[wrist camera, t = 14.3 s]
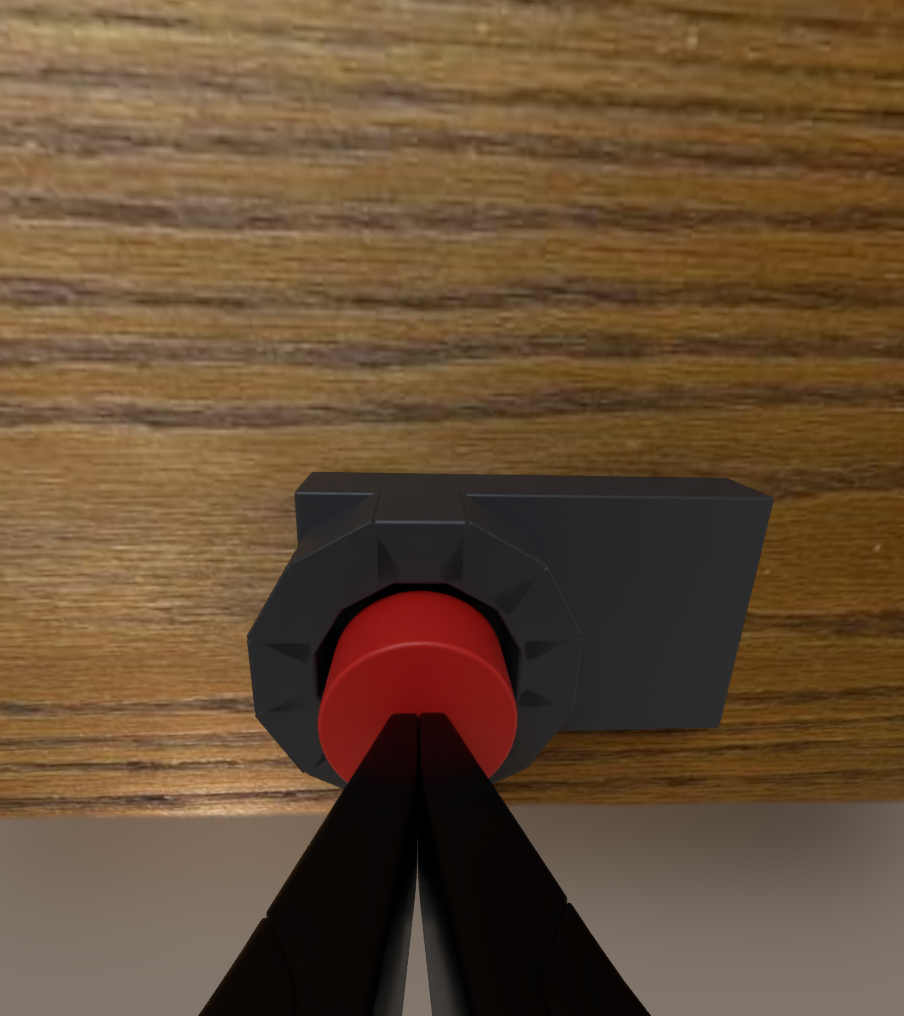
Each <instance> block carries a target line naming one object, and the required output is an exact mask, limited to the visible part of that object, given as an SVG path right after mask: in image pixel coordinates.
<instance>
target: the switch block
mask: <svg viewBox="0 0 904 1016" xmlns="http://www.w3.org/2000/svg"><path fill="white" fill-rule="evenodd" d="M772 504H773V498H772V497H770V496H768V495H765V494H763V493H761V492H758V491H756V490H753V489H751V488H749V487H746V486H744V485H742V484H739V483H737V482H735V481H732V480H730V479H727V478H672V477H607V476H542V475H478V474H413V473H348V472H312V473H311V474H310V475H309V476H308V477H307V479H306V480H305V481H304V482H303V483H302V485H301V486H300V487H299V488H298V489H297V490H296V492H295V508H296V523H297V538H298V548H297V550H296V551H295V553H294V555H293V556H292V558H291V560H290V561H289V563H288V565H287V566H286V568H285V570H284V571H283V573H282V575H281V577H280V578H279V580H278V582H277V584H276V586H275V587H274V589H273V591H272V593H271V594H270V596H269V598H268V600H267V601H266V603H265V605H264V607H263V608H262V610H261V612H260V614H259V615H258V617H257V619H256V621H255V622H254V624H253V626H252V628H251V630H250V631H249V633H248V635H247V638H248V640H247V644H248V653H249V663H250V672H251V681H252V690H253V700H254V709H255V712H256V714H255V716H256V718H257V719H258V720H259V721H260V723H261V724H262V725H263V726H264V727H265V729H266V730H267V731H268V732H269V733H270V734H271V736H272V737H273V738H274V739H275V740H276V742H277V743H278V744H279V745H280V746H281V748H282V749H283V750H284V751H285V752H286V754H287V755H288V756H289V757H290V758H291V760H292V761H293V762H294V763H295V764H296V765H297V767H298V768H299V769H300V770H301V771H302V772H303V773H305V772H306V773H307V774H308V775H310V776H313V777H315V778H318V779H320V780H323V781H325V782H328V783H330V784H333V785H335V786H337V787H340V788H342V789H344V788H345V787H346V785H347V784H348V783H347V782H345V781H344V780H343V779H342V778H341V777H340V776H339V775H338V774H337V773H336V772H335V771H334V769H333V768H332V767H331V765H330V764H329V762H328V760H327V758H326V756H325V754H324V752H323V750H322V746H321V743H320V740H319V734H318V714H319V708H320V704H321V700H322V697H323V693H324V689H325V686H326V682H327V678H328V675H329V671H330V667H331V664H332V660H333V656H334V653H335V649H336V646H337V643H338V640H339V638H340V636H341V634H342V632H343V631H344V629H345V628H346V626H347V625H348V624H349V622H350V621H351V620H352V619H353V618H354V617H355V616H356V615H357V614H358V613H359V612H361V611H362V610H363V609H364V608H366V607H367V606H369V605H370V604H372V603H374V602H375V601H378V600H380V599H382V598H384V597H387V596H390V595H393V594H396V593H401V592H407V591H419V590H420V591H433V592H439V593H444V594H447V595H450V596H453V597H455V598H458V599H460V600H462V601H464V602H466V603H467V604H469V605H470V606H472V607H474V608H475V609H476V610H477V611H478V612H480V613H481V614H482V615H483V616H484V617H485V618H486V620H487V621H488V622H489V623H490V625H491V626H492V628H493V629H494V631H495V633H496V635H497V637H498V640H499V643H500V646H501V650H502V653H503V657H504V661H505V664H506V668H507V672H508V675H509V679H510V682H511V686H512V690H513V693H514V697H515V701H516V705H517V712H518V725H517V731H516V736H515V739H514V742H513V745H512V748H511V750H510V752H509V754H508V756H507V758H506V759H505V761H504V762H503V763H502V765H501V766H500V767H499V769H498V770H497V771H496V772H495V773H494V774H493V775H492V776H491V777H490V778H489V780H490V781H491V783H492V784H494V783H496V782H498V781H500V780H502V779H505V778H507V777H509V776H511V775H513V774H515V773H517V772H520V771H522V770H524V769H526V768H527V766H530V764H531V763H532V762H533V761H534V759H535V758H536V757H537V756H538V754H539V753H540V752H541V751H542V749H543V748H544V747H545V746H546V744H547V743H548V742H549V741H550V739H551V738H552V737H553V736H554V735H555V733H556V732H557V731H593V730H638V729H683V728H717V727H719V725H720V721H721V717H722V713H723V708H724V704H725V700H726V696H727V692H728V688H729V683H730V679H731V675H732V671H733V667H734V663H735V658H736V654H737V650H738V646H739V642H740V638H741V634H742V629H743V625H744V621H745V617H746V613H747V609H748V604H749V600H750V596H751V592H752V588H753V584H754V579H755V575H756V571H757V567H758V563H759V559H760V554H761V550H762V546H763V542H764V538H765V534H766V529H767V525H768V521H769V517H770V513H771V509H772Z"/></svg>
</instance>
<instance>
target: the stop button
mask: <svg viewBox="0 0 904 1016" xmlns="http://www.w3.org/2000/svg"><path fill="white" fill-rule="evenodd" d="M429 712H443V713H445V714H446V715H447V716H448V718H449V719H450V721H451V722H452V724H453V725H454V727H455V728H456V730H457V731H458V733H459V734H460V736H461V737H462V739H463V741H464V742H465V744H466V745H467V747H468V748H469V750H470V751H471V753H472V754H473V756H474V757H475V759H476V760H477V762H478V763H479V765H480V766H481V768H482V769H483V771H484V772H485V774H486V775H487V777H488V778H490V777H491V776H492V775H493V774H494V773H495V772H496V771H497V770H498V769H499V767H500V766H501V765H502V763H503V762H504V761H505V759H506V758H507V756H508V754H509V752H510V750H511V748H512V745H513V742H514V739H515V736H516V731H517V725H518V712H517V705H516V701H515V697H514V693H513V690H512V686H511V682H510V679H509V675H508V672H507V668H506V664H505V661H504V657H503V653H502V650H501V646H500V643H499V640H498V637H497V635H496V633H495V631H494V629H493V628H492V626H491V625H490V623H489V622H488V621H487V620H486V618H485V617H484V616H483V615H482V614H481V613H480V612H478V611H477V610H476V609H475V608H474V607H472V606H470V605H469V604H467V603H466V602H464V601H462V600H460V599H458V598H455V597H453V596H450V595H447V594H444V593H439V592H433V591H420V590H419V591H407V592H401V593H396V594H393V595H390V596H387V597H384V598H382V599H380V600H378V601H375V602H374V603H372V604H370V605H369V606H367V607H366V608H364V609H363V610H362V611H361V612H359V613H358V614H357V615H356V616H355V617H354V618H353V619H352V620H351V621H350V622H349V624H348V625H347V626H346V628H345V629H344V631H343V632H342V634H341V636H340V638H339V640H338V643H337V646H336V649H335V653H334V656H333V660H332V664H331V667H330V671H329V675H328V678H327V682H326V686H325V689H324V693H323V697H322V700H321V704H320V708H319V714H318V734H319V740H320V743H321V746H322V750H323V752H324V754H325V756H326V758H327V760H328V762H329V764H330V765H331V767H332V768H333V769H334V771H335V772H336V773H337V774H338V775H339V776H340V777H341V778H342V779H343V780H344V781H345V782H347V783H348V782H349V780H350V779H351V777H352V776H353V774H354V772H355V771H356V769H357V768H358V766H359V765H360V763H361V761H362V760H363V758H364V757H365V755H366V753H367V752H368V750H369V749H370V747H371V746H372V744H373V742H374V741H375V739H376V738H377V736H378V734H379V733H380V731H381V730H382V728H383V726H384V725H385V723H386V722H387V720H388V719H389V717H390V716H391V715H392V714H394V713H416V714H417V716H418V720H419V715H420V714H421V713H429Z"/></svg>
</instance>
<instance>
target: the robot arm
mask: <svg viewBox="0 0 904 1016" xmlns="http://www.w3.org/2000/svg"><path fill="white" fill-rule="evenodd" d="M417 840H418V882H419V894H420V904H421V914H422V923H423V933H424V942H425V952H426V961H427V971H428V980H429V989H430V999H431V1008H432V1016H651V1015H650V1014H649V1012H647V1010H646V1009H645V1007H644V1006H643V1005H642V1003H641V1002H640V1001H639V1000H638V998H637V997H636V996H635V994H634V993H633V992H632V990H631V989H630V988H629V987H628V985H627V984H626V983H625V982H624V980H623V978H622V977H621V976H620V974H619V973H618V971H617V970H616V969H615V967H614V966H613V964H612V963H611V961H610V960H609V959H608V957H607V956H606V954H605V953H604V951H603V950H602V948H601V947H600V946H599V944H598V943H597V941H596V940H595V938H594V937H593V936H592V934H591V933H590V931H589V930H588V928H587V926H586V925H585V923H584V922H583V920H582V919H581V917H580V916H579V914H578V913H577V912H576V910H575V908H574V907H573V905H572V904H571V903H567V897H566V895H565V894H564V892H563V891H562V889H561V887H560V886H559V885H558V883H557V881H556V880H555V878H554V877H553V875H552V874H551V872H550V871H549V869H548V868H547V866H546V865H545V863H544V862H543V860H542V859H541V857H540V856H539V854H538V853H537V851H536V850H535V848H534V847H533V845H532V844H531V842H530V841H529V839H528V838H527V836H526V835H525V833H524V831H523V830H522V828H521V827H520V826H519V824H518V822H517V821H516V819H515V818H514V816H513V815H512V813H511V812H510V810H509V809H508V807H507V806H506V804H505V803H504V801H503V800H502V798H501V797H500V795H499V794H498V792H497V791H496V789H495V787H494V786H493V784H492V783H491V781H490V780H489V778H488V777H487V775H486V774H485V772H484V771H483V769H482V768H481V766H480V765H479V763H478V762H477V760H476V759H475V757H474V756H473V754H472V753H471V751H470V750H469V748H468V747H467V745H466V744H465V742H464V741H463V739H462V737H461V736H460V734H459V733H458V731H457V730H456V728H455V727H454V725H453V724H452V722H451V721H450V719H449V718H448V716H447V715H446V714H445V713H443V712H429V713H421V714H420V715H419V720H418V716H417V714H416V713H394V714H392V715H391V716H390V717H389V719H388V720H387V722H386V723H385V725H384V726H383V728H382V730H381V731H380V733H379V734H378V736H377V738H376V739H375V741H374V742H373V744H372V746H371V747H370V749H369V750H368V752H367V753H366V755H365V757H364V758H363V760H362V761H361V763H360V765H359V766H358V768H357V769H356V771H355V772H354V774H353V776H352V777H351V779H350V780H349V782H348V784H347V785H346V787H345V788H344V790H343V792H342V793H341V795H340V796H339V798H338V799H337V801H336V803H335V804H334V806H333V807H332V809H331V811H330V812H329V814H328V815H327V817H326V818H325V820H324V822H323V823H322V825H321V826H320V828H319V830H318V831H317V833H316V834H315V836H314V838H313V839H312V841H311V842H310V844H309V846H308V847H307V849H306V850H305V852H304V853H303V855H302V857H301V858H300V860H299V861H298V863H297V865H296V866H295V868H294V869H293V871H292V872H291V874H290V876H289V877H288V879H287V881H286V882H285V884H284V885H283V887H282V889H281V890H280V892H279V893H278V895H277V896H276V898H275V900H274V901H273V903H272V904H271V906H270V907H269V909H268V911H267V918H263V919H262V920H261V921H260V923H259V924H258V926H257V927H256V929H255V931H254V932H253V934H252V935H251V937H250V939H249V940H248V942H247V943H246V945H245V947H244V948H243V950H242V951H241V953H240V954H239V956H238V958H237V959H236V960H235V962H234V963H233V965H232V966H231V968H230V969H229V971H228V972H227V974H226V975H225V977H224V979H223V980H222V981H221V983H220V984H219V986H218V988H217V989H216V991H215V992H214V993H213V995H212V996H211V998H210V999H209V1001H208V1002H207V1004H206V1005H205V1007H204V1008H203V1010H202V1011H201V1012H200V1014H199V1015H198V1016H402V1010H403V1000H404V992H405V982H406V973H407V965H408V956H409V947H410V937H411V927H412V919H413V910H414V901H415V891H416V878H417Z"/></svg>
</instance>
